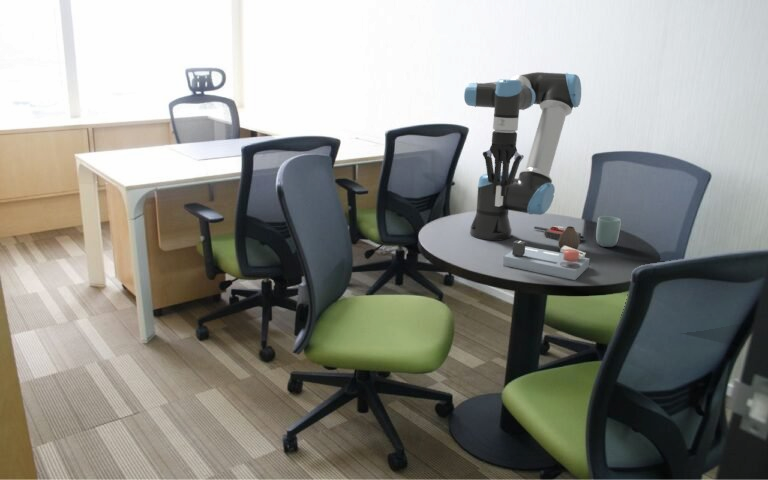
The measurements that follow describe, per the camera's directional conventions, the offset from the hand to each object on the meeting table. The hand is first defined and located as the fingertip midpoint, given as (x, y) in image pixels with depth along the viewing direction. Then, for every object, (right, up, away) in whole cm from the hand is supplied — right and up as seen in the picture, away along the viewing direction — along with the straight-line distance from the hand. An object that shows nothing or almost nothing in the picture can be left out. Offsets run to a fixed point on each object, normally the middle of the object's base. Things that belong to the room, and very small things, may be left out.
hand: (498, 205), depth 203 cm
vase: (+27, -15, +17) cm, 35 cm away
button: (+21, -17, -8) cm, 28 cm away
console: (+15, -19, 0) cm, 25 cm away
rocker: (+23, -15, -1) cm, 28 cm away
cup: (+43, -13, +25) cm, 52 cm away
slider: (+6, -16, 0) cm, 17 cm away
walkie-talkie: (+28, -10, +35) cm, 46 cm away
